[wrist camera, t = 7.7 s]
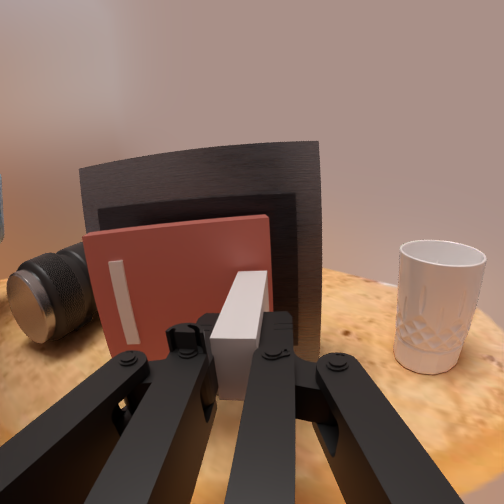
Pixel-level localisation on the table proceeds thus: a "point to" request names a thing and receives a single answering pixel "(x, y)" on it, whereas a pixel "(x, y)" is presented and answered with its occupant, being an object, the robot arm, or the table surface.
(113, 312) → the rocker
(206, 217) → the switch box
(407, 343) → the white cup
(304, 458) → the table surface
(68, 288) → the muzzle brake
